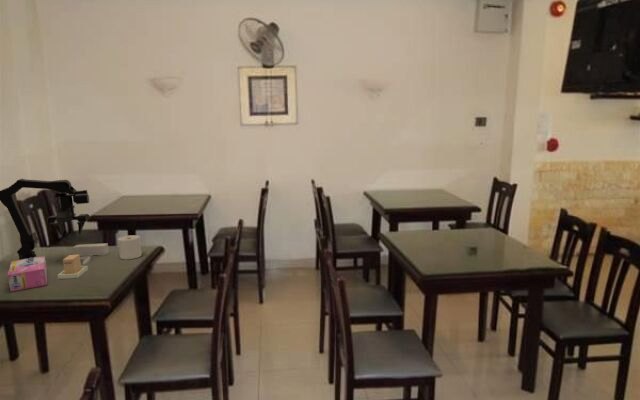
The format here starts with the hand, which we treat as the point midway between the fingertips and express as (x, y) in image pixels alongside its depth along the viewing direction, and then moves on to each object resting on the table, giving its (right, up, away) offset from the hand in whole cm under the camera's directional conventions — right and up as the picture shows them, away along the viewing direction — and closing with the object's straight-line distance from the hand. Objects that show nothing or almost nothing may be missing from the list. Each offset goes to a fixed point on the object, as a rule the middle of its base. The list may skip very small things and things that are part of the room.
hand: (70, 234), depth 235 cm
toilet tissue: (+28, -12, +5) cm, 31 cm away
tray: (+12, -17, -20) cm, 29 cm away
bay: (+6, -13, +3) cm, 14 cm away
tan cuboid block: (+12, -17, -20) cm, 29 cm away
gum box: (+2, -14, -24) cm, 28 cm away
